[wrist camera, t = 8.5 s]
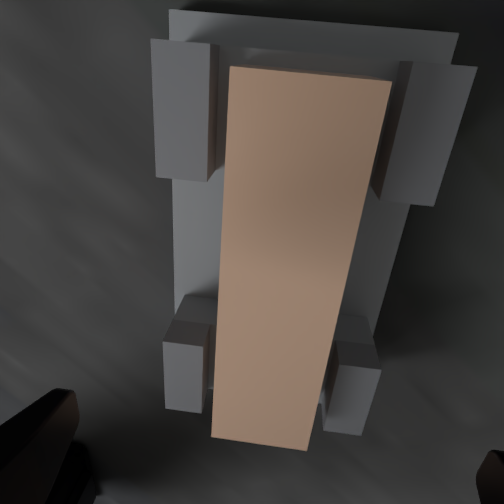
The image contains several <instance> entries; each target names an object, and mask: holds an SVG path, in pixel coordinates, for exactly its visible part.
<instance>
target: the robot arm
mask: <svg viewBox="0 0 504 504" xmlns="http://www.w3.org/2000/svg"><path fill="white" fill-rule="evenodd" d="M78 423H79V409H78V404H77V399H76V394H75V392H74V391H73V390H68V389H61V388H56V389H53V390H51V391H50V392H48V393H47V394H46V395H44V396H43V397H41V398H40V399H38V400H37V401H35V402H34V403H32V404H31V405H29V406H28V407H26V408H25V409H24V410H22V411H21V412H19V413H18V414H16V415H15V416H13V417H12V418H10V419H9V420H7V421H6V422H5V423H3V424H2V425H0V504H93V503H94V501H95V498H96V491H95V486H94V480H93V475H92V472H91V468H90V463H89V458H88V452H87V449H86V448H85V447H84V446H81V445H76V444H70V443H71V441H72V438H73V436H74V434H75V431H76V429H77V426H78ZM476 485H477V490H478V494H479V498H480V502H481V504H504V451H499V450H491V451H489V452H488V454H487V456H486V457H485V459H484V461H483V463H482V464H481V466H480V468H479V469H478V471H477V474H476Z"/></svg>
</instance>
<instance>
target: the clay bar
mask: <svg viewBox="0 0 504 504" xmlns="http://www.w3.org/2000/svg"><path fill="white" fill-rule="evenodd" d="M391 85H392V81H388V80H384V79H380V78H376V77H372V76H364V75H353V74H343V73H332V72H321V71H311V70H300V69H290V68H279V67H269V66H258V65H248V64H242V65H235V66H230V74H229V93H228V113H227V133H226V153H225V173H224V193H223V213H222V233H221V253H220V273H219V293H218V313H217V333H216V353H215V373H214V393H213V413H212V433H211V437H215V438H222V439H228V440H235V441H242V442H249V443H256V444H263V445H269V446H276V447H283V448H290V449H297V450H304V451H307V448H308V443H309V439H310V435H311V430H312V426H313V422H314V418H315V413H316V409H317V405H318V400H319V396H320V392H321V387H322V383H323V379H324V374H325V370H326V366H327V361H328V357H329V353H330V348H331V344H332V340H333V335H334V331H335V327H336V323H337V318H338V314H339V310H340V305H341V301H342V297H343V292H344V288H345V284H346V279H347V275H348V271H349V266H350V262H351V258H352V253H353V249H354V245H355V240H356V236H357V232H358V228H359V223H360V219H361V215H362V210H363V206H364V202H365V197H366V193H367V189H368V184H369V180H370V176H371V171H372V167H373V163H374V158H375V154H376V150H377V145H378V141H379V137H380V132H381V128H382V124H383V120H384V115H385V111H386V107H387V102H388V98H389V94H390V89H391Z"/></svg>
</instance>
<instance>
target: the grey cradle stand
mask: <svg viewBox="0 0 504 504" xmlns="http://www.w3.org/2000/svg"><path fill="white" fill-rule="evenodd" d="M458 36H459V33H453V32H441V31H429V30H417V29H404V28H392V27H380V26H368V25H356V24H343V23H331V22H319V21H307V20H295V19H282V18H270V17H258V16H246V15H234V14H221V13H209V12H197V11H185V10H172V9H169V40H161V39H151V62H152V87H153V112H154V137H155V162H156V177H160V178H170V179H172V190H173V241H174V291H175V316H174V318H173V321H172V323H171V325H170V327H169V329H168V331H167V333H166V336H165V338H164V340H163V362H164V387H165V409H173V410H180V411H187V412H194V413H201V414H202V410H203V406H204V402H205V398H206V395H207V391H208V389H214V373H215V353H216V333H217V313H218V293H219V273H220V253H221V233H222V213H223V193H224V173H225V153H226V133H227V113H228V93H229V74H230V66H235V65H242V64H248V65H258V66H269V67H279V68H290V69H300V70H311V71H321V72H332V73H343V74H353V75H364V76H372V77H376V78H380V79H384V80H388V81H392V85H391V89H390V94H389V98H388V102H387V107H386V111H385V115H384V120H383V124H382V128H381V132H380V137H379V141H378V145H377V150H376V154H375V158H374V163H373V167H372V171H371V176H370V180H369V184H368V189H367V193H366V197H365V202H364V206H363V210H362V215H361V219H360V223H359V228H358V232H357V236H356V240H355V245H354V249H353V253H352V258H351V262H350V266H349V271H348V275H347V279H346V284H345V288H344V292H343V297H342V301H341V305H340V310H339V314H338V318H337V323H336V327H335V331H334V335H333V340H332V344H331V348H330V353H329V357H328V361H327V366H326V370H325V374H324V379H323V383H322V387H321V392H320V396H319V400H318V403H319V404H321V407H322V420H323V431H330V432H337V433H344V434H351V435H359V436H361V435H362V431H363V428H364V425H365V422H366V419H367V416H368V412H369V409H370V406H371V403H372V400H373V397H374V393H375V390H376V387H377V384H378V381H379V378H380V374H381V371H382V369H381V365H380V361H379V358H378V354H377V351H376V347H375V343H374V340H373V334H374V330H375V327H376V323H377V320H378V316H379V313H380V309H381V306H382V302H383V299H384V295H385V292H386V288H387V285H388V281H389V278H390V274H391V271H392V267H393V264H394V260H395V257H396V253H397V250H398V246H399V243H400V239H401V236H402V232H403V229H404V225H405V222H406V218H407V215H408V211H409V208H410V204H414V205H424V206H433V207H434V204H435V201H436V197H437V194H438V191H439V188H440V185H441V182H442V178H443V175H444V172H445V169H446V166H447V163H448V160H449V156H450V153H451V150H452V147H453V144H454V141H455V137H456V134H457V131H458V128H459V125H460V122H461V118H462V115H463V112H464V109H465V106H466V103H467V99H468V96H469V93H470V90H471V87H472V84H473V80H474V77H475V74H476V71H477V68H478V67H474V66H462V65H450V64H451V60H452V57H453V53H454V50H455V46H456V43H457V39H458Z"/></svg>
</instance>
